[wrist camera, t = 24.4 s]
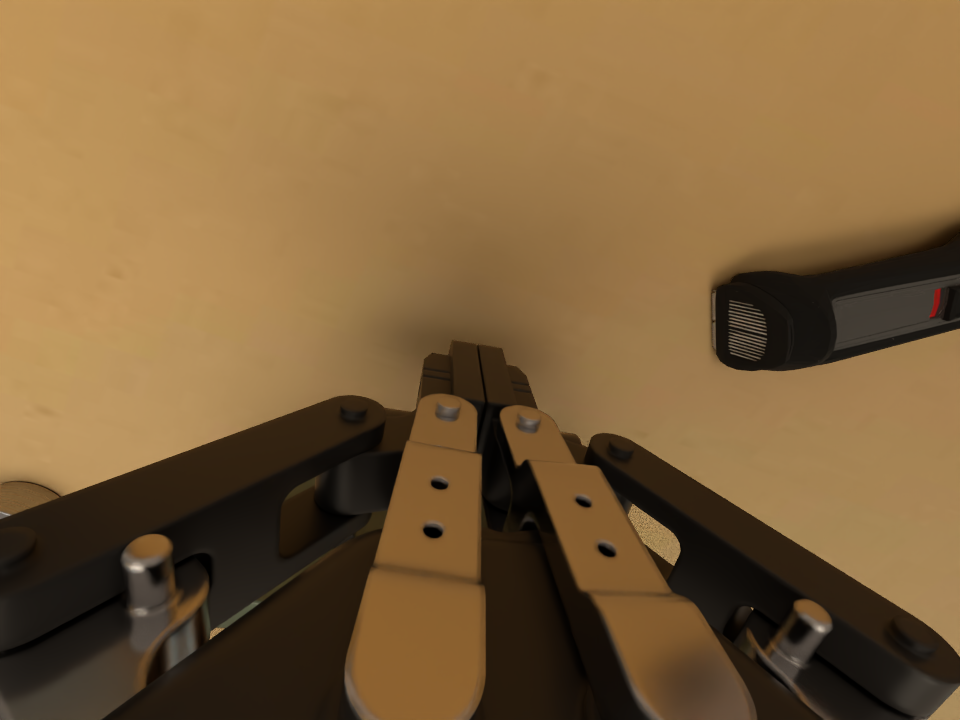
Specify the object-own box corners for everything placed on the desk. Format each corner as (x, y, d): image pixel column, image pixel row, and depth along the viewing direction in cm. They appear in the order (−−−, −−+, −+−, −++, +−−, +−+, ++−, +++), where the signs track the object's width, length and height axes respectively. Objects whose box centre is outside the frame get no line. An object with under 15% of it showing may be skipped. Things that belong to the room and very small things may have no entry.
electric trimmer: (1105, 275, 18) (1230, 298, 16) (711, 365, 19) (762, 405, 16) (1141, 172, 17) (1287, 177, 14) (710, 272, 17) (766, 298, 14)
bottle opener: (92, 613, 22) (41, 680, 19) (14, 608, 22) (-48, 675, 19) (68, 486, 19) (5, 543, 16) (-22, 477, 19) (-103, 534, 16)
